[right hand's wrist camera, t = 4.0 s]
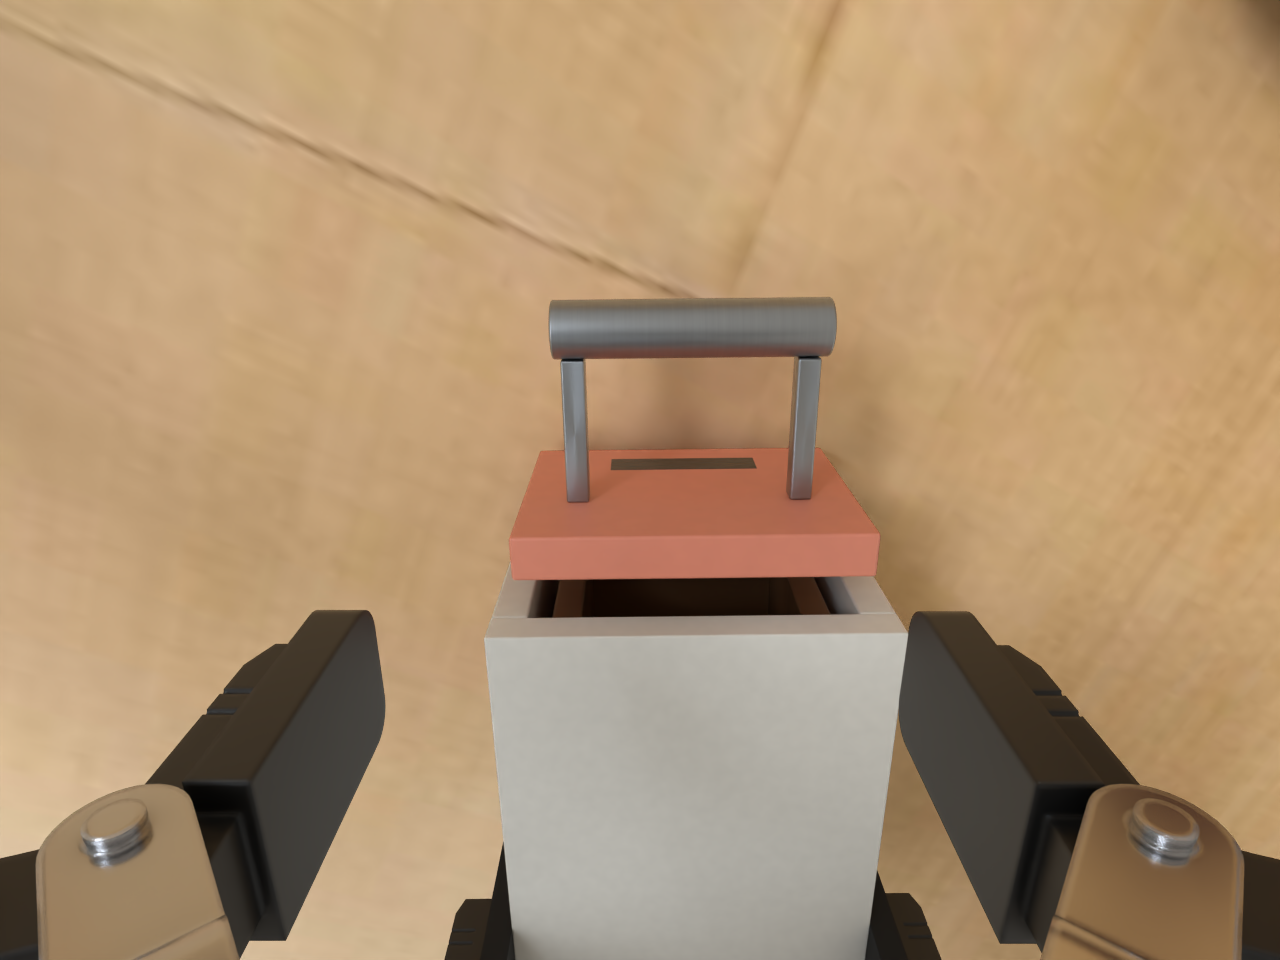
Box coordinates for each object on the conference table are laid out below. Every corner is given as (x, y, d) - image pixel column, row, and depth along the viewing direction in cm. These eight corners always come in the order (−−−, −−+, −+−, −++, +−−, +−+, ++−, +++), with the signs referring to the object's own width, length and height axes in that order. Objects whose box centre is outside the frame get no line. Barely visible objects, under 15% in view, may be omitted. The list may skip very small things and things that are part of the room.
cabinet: (529, 501, 27) (482, 637, 19) (827, 497, 27) (910, 633, 19) (552, 854, 32) (525, 1075, 24) (797, 852, 32) (851, 1071, 24)
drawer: (529, 281, 23) (490, 317, 17) (833, 277, 23) (907, 312, 17) (561, 808, 30) (542, 969, 24) (792, 805, 30) (833, 965, 24)
